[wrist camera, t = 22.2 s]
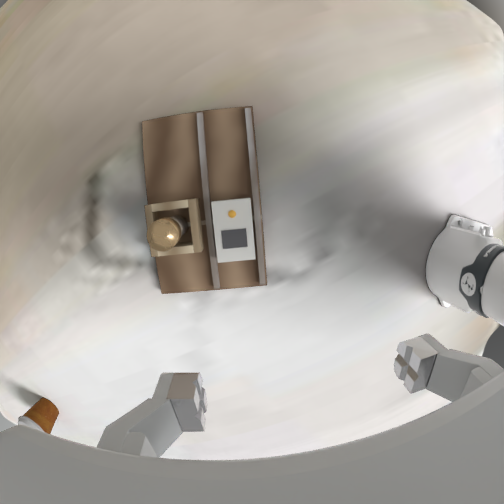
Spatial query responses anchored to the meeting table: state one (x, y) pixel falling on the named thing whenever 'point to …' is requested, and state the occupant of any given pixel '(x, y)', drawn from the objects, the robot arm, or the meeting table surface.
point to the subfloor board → (204, 191)
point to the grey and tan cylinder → (166, 232)
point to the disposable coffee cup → (40, 416)
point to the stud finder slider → (233, 230)
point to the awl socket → (195, 223)
